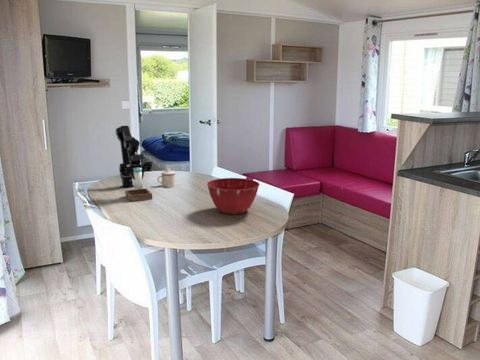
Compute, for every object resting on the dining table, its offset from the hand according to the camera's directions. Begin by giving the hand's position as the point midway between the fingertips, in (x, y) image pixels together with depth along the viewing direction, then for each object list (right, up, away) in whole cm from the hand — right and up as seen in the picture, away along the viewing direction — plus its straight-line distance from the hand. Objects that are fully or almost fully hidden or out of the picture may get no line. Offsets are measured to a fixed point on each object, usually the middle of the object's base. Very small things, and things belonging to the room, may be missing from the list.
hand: (138, 178), depth 256 cm
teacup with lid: (+10, -5, +36) cm, 38 cm away
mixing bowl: (+56, -18, -15) cm, 60 cm away
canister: (-1, -6, +3) cm, 6 cm away
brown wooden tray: (-1, -12, +4) cm, 13 cm away
